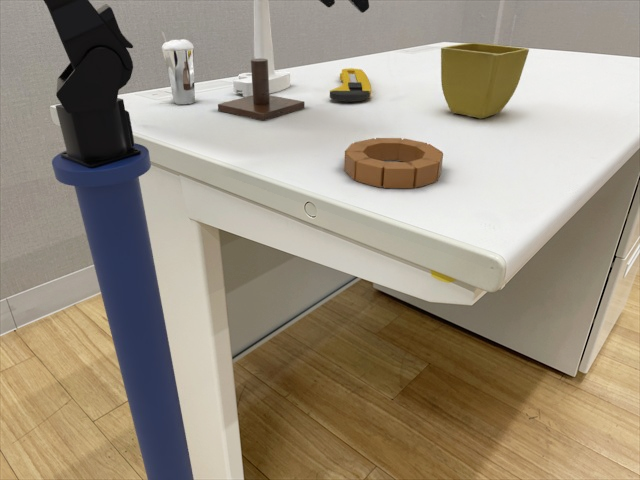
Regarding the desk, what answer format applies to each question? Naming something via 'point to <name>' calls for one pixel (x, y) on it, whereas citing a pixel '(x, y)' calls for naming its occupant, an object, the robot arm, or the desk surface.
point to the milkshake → (180, 69)
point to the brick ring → (412, 172)
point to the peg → (260, 98)
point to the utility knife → (352, 86)
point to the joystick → (262, 53)
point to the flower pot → (480, 77)
